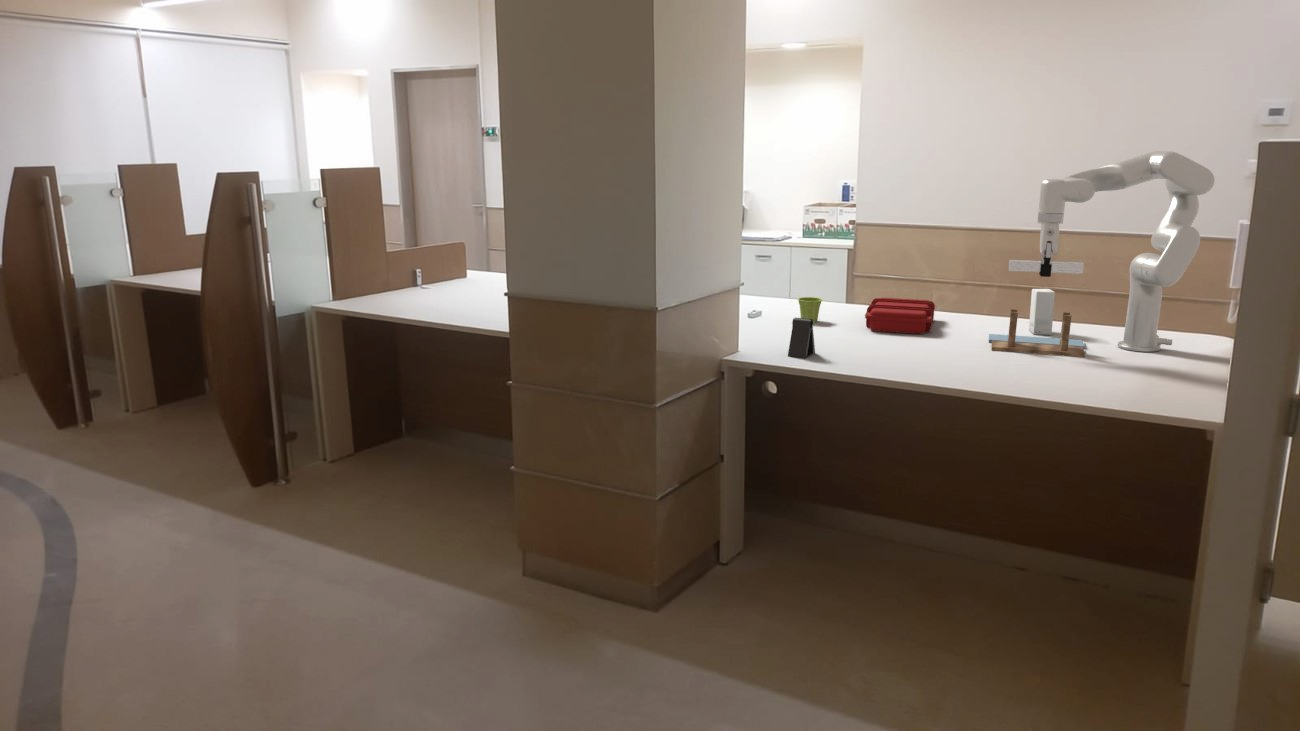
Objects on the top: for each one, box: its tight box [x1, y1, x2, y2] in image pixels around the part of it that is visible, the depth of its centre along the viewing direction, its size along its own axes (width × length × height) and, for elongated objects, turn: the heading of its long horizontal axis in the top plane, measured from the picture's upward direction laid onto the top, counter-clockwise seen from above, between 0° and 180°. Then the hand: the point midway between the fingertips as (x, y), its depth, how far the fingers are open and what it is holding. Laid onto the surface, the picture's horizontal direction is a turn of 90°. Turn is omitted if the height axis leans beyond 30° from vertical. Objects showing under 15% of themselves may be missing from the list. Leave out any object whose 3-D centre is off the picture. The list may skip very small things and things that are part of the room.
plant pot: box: [797, 296, 823, 323], centre depth 344 cm, size 9×9×9 cm
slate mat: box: [988, 333, 1086, 350], centre depth 308 cm, size 30×10×1 cm, turn 69°
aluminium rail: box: [1008, 259, 1085, 275], centre depth 291 cm, size 22×3×3 cm, turn 70°
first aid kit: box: [864, 297, 936, 335], centre depth 336 cm, size 32×23×9 cm
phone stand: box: [787, 317, 816, 359], centre depth 291 cm, size 9×6×12 cm, turn 149°
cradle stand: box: [991, 308, 1086, 358], centre depth 296 cm, size 28×10×13 cm, turn 69°
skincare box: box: [1028, 288, 1056, 336], centre depth 322 cm, size 8×7×16 cm
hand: (1044, 275), depth 292 cm, fingers closed on aluminium rail, 3 cm apart
